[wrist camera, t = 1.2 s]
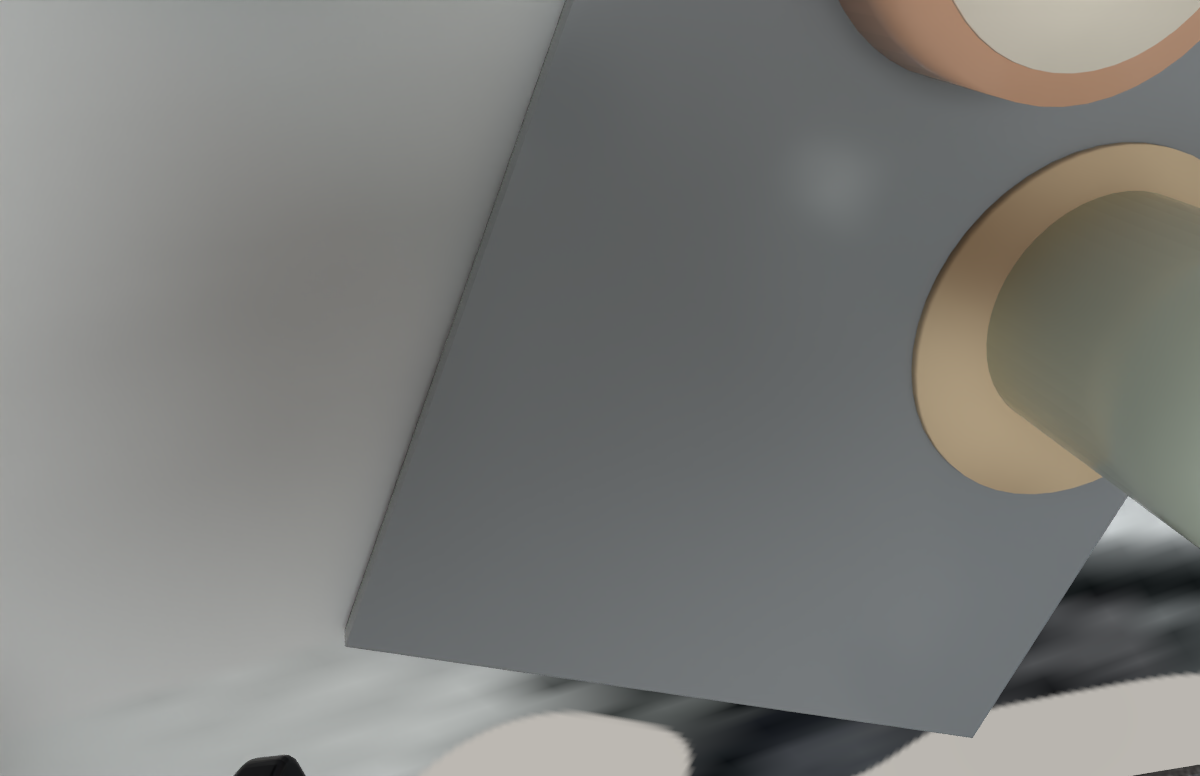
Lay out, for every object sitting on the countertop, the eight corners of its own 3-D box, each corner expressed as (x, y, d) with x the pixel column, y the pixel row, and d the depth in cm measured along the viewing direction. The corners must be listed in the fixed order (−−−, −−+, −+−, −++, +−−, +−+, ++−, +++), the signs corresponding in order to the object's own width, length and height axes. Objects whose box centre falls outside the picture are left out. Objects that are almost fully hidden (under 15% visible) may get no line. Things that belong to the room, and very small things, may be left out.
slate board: (961, 723, 30) (972, 738, 30) (344, 629, 23) (345, 646, 23) (1470, -82, 22) (1498, -81, 22) (768, -579, 16) (783, -595, 15)
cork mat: (1113, 517, 27) (1121, 523, 27) (848, 446, 24) (854, 451, 24) (1309, 212, 24) (1320, 215, 24) (1037, 83, 21) (1046, 86, 21)
